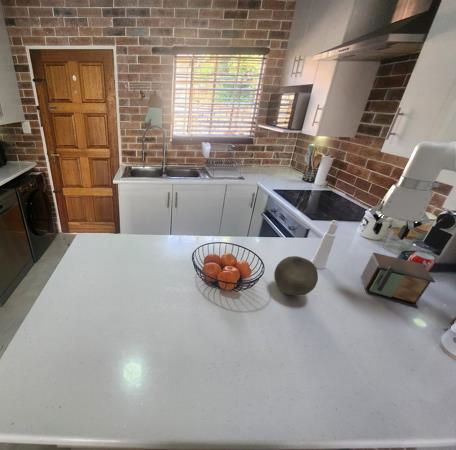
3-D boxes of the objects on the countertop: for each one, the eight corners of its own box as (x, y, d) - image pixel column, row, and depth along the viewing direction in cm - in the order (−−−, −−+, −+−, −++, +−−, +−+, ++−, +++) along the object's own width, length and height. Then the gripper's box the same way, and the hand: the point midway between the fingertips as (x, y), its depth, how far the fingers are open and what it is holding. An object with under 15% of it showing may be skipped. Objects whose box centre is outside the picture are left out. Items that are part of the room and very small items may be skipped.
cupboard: (406, 288, 98) (422, 264, 93) (417, 308, 89) (435, 282, 83) (360, 276, 105) (373, 252, 99) (366, 293, 95) (379, 267, 90)
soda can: (405, 282, 102) (420, 258, 96) (394, 272, 108) (408, 249, 102) (425, 285, 100) (442, 261, 95) (413, 275, 106) (428, 252, 101)
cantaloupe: (261, 286, 96) (270, 254, 90) (285, 276, 102) (296, 245, 96) (293, 311, 85) (307, 276, 78) (318, 298, 91) (333, 265, 84)
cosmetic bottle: (313, 259, 115) (330, 216, 105) (327, 266, 110) (346, 222, 100) (307, 264, 111) (324, 220, 101) (322, 270, 107) (341, 225, 97)
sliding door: (390, 296, 92) (408, 268, 87) (393, 302, 90) (411, 273, 84) (369, 290, 95) (384, 262, 89) (371, 295, 92) (387, 267, 87)
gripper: (447, 186, 75) (417, 237, 83) (376, 176, 82) (355, 224, 90) (459, 192, 69) (425, 247, 77) (382, 182, 76) (358, 233, 84)
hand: (387, 234), depth 84 cm, fingers open, 5 cm apart
